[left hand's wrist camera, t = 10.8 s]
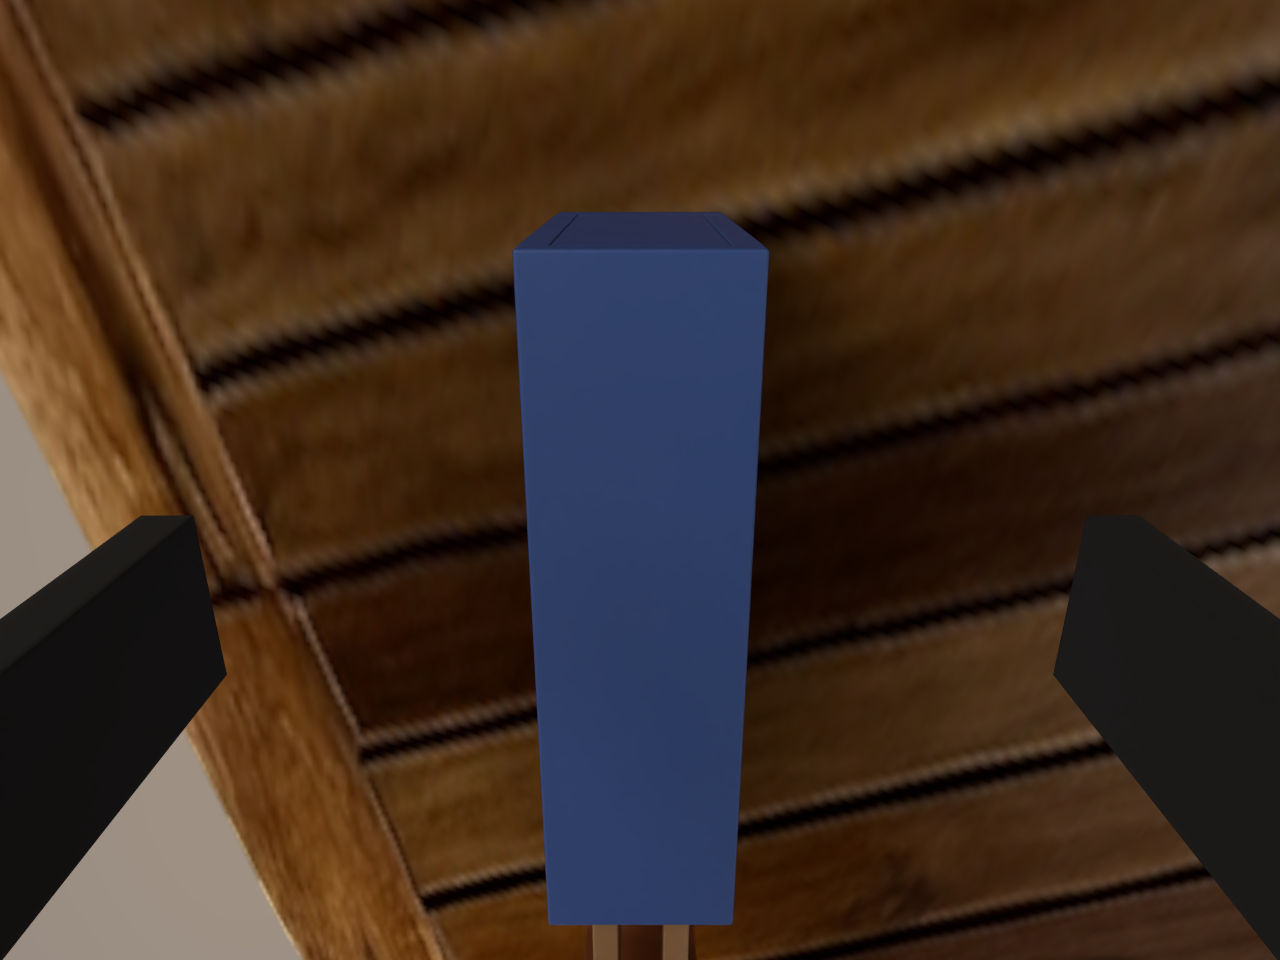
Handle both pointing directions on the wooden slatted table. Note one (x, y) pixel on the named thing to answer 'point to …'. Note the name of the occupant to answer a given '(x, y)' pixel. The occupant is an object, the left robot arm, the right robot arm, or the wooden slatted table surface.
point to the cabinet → (640, 551)
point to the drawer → (640, 942)
